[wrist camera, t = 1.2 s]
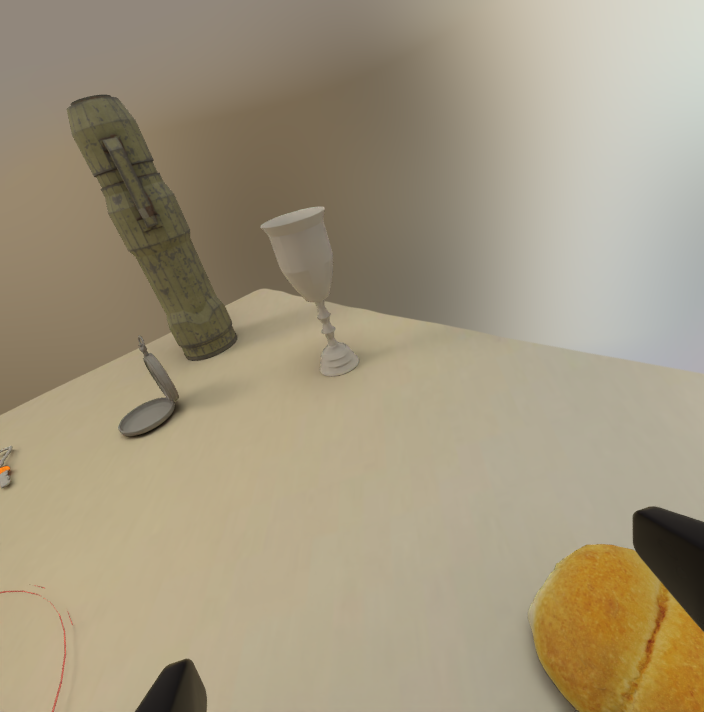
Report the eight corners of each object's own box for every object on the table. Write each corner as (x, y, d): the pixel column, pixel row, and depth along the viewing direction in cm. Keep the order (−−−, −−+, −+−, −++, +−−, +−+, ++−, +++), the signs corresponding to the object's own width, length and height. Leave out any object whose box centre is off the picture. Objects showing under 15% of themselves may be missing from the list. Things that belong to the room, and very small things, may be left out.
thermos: (226, 326, 71) (124, 104, 54) (248, 343, 62) (133, 80, 45) (178, 348, 67) (53, 118, 51) (194, 370, 58) (48, 96, 41)
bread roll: (768, 883, 13) (806, 853, 11) (507, 660, 19) (501, 618, 17) (810, 659, 17) (842, 608, 15) (582, 539, 23) (584, 493, 21)
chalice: (304, 364, 51) (253, 225, 42) (350, 343, 52) (310, 205, 44) (325, 388, 44) (270, 230, 36) (376, 363, 46) (335, 207, 38)
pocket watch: (110, 439, 47) (60, 370, 42) (157, 396, 54) (118, 332, 49) (162, 439, 44) (114, 365, 39) (204, 393, 51) (168, 325, 46)
